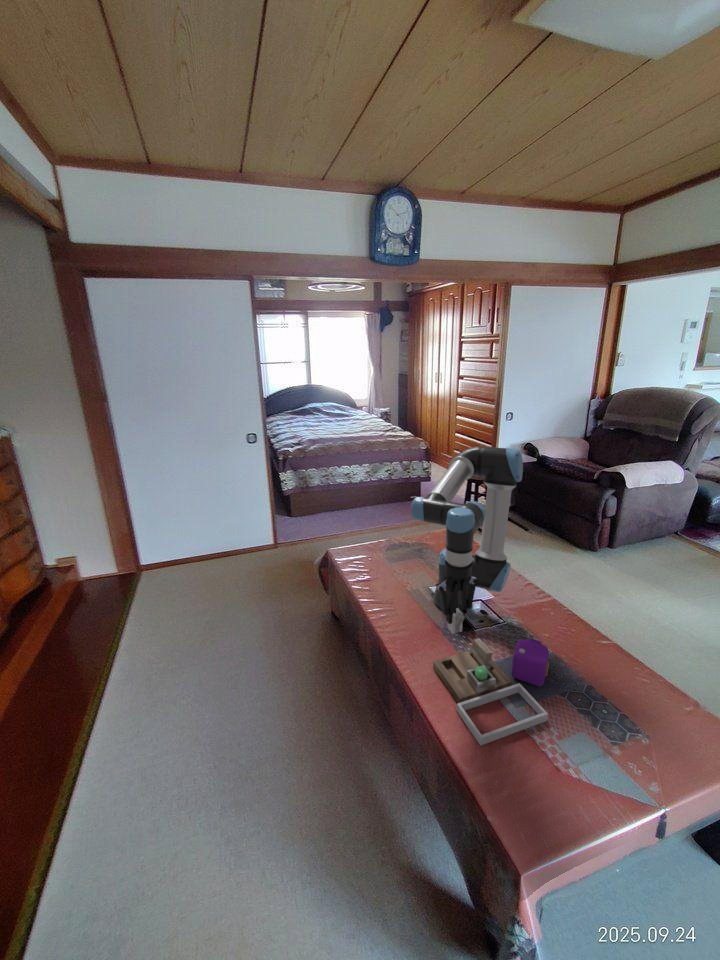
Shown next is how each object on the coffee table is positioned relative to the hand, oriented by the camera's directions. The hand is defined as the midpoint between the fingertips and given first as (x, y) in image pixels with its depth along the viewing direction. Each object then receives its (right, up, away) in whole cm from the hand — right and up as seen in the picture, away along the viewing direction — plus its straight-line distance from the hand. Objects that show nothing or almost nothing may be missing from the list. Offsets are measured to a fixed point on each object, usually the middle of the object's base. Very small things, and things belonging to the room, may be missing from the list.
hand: (455, 629), depth 124 cm
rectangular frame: (+11, -21, -9) cm, 25 cm away
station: (+6, -17, +5) cm, 18 cm away
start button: (+8, -15, -1) cm, 17 cm away
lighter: (0, -1, 0) cm, 1 cm away
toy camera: (+25, -16, +7) cm, 31 cm away
